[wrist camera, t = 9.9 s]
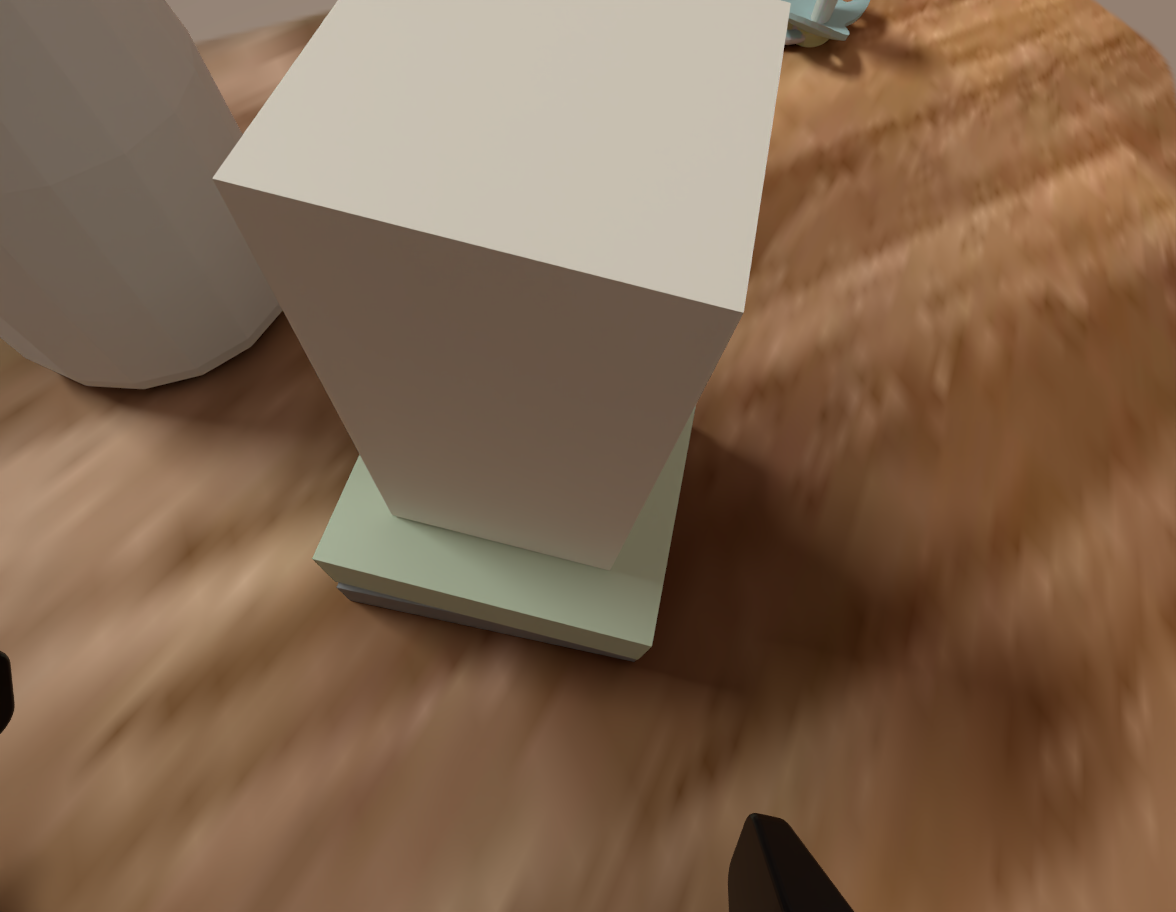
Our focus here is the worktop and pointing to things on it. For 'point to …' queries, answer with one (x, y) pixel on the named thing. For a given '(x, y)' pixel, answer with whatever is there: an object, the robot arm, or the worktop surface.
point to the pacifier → (821, 20)
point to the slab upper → (509, 567)
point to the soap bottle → (118, 198)
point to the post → (515, 242)
